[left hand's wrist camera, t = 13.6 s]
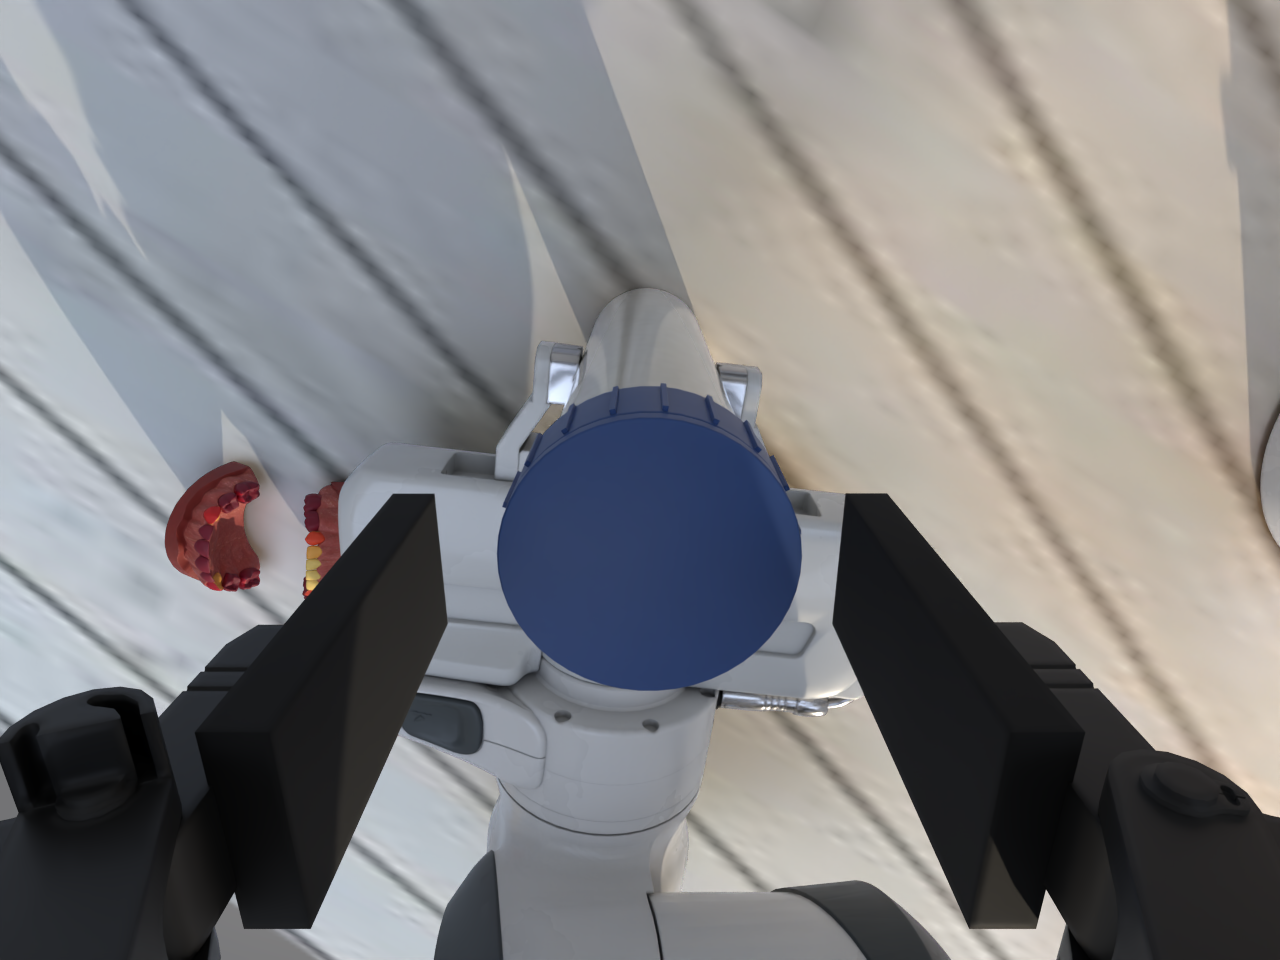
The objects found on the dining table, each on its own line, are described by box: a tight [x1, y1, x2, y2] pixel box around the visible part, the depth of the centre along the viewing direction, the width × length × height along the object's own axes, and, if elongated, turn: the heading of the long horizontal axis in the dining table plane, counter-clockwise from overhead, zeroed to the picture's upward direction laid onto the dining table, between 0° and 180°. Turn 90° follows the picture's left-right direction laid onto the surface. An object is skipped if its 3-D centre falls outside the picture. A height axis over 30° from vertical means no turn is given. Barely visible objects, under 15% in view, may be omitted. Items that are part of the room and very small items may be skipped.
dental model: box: [165, 462, 344, 599], centre depth 33 cm, size 6×4×8 cm
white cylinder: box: [560, 288, 735, 417], centre depth 23 cm, size 5×5×20 cm
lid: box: [497, 383, 802, 691], centre depth 14 cm, size 6×6×2 cm
